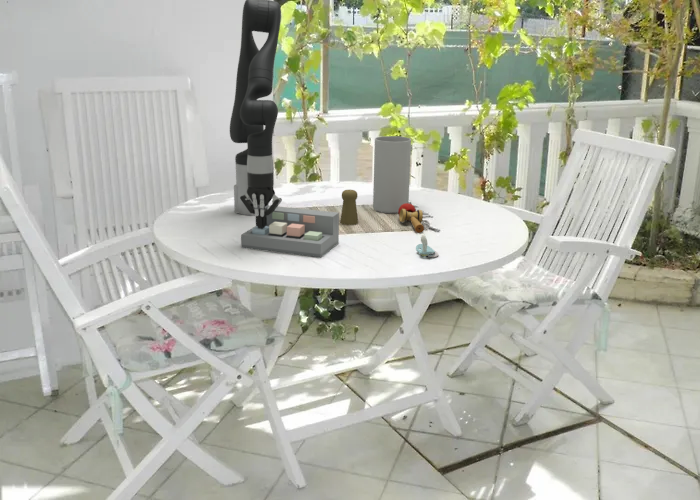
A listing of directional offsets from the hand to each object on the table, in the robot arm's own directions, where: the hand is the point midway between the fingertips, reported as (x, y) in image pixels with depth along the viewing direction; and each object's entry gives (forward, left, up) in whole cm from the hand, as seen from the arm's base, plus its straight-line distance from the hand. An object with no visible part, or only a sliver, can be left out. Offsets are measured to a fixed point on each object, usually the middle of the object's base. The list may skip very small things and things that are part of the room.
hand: (261, 227), depth 223 cm
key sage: (+16, 0, -4) cm, 17 cm away
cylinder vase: (+24, +55, -6) cm, 60 cm away
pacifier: (+48, +9, -6) cm, 50 cm away
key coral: (+11, 0, -2) cm, 11 cm away
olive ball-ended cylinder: (+16, +33, -6) cm, 37 cm away
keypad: (+8, +3, -5) cm, 10 cm away
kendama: (+36, +38, -6) cm, 53 cm away
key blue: (0, 0, -4) cm, 4 cm away
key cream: (+5, 0, -2) cm, 6 cm away
